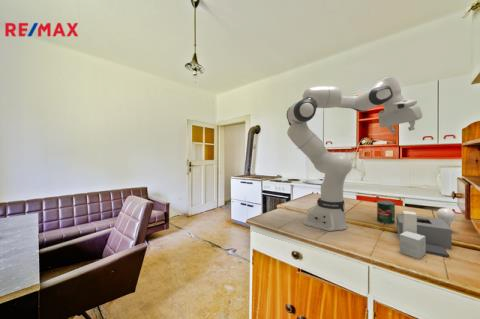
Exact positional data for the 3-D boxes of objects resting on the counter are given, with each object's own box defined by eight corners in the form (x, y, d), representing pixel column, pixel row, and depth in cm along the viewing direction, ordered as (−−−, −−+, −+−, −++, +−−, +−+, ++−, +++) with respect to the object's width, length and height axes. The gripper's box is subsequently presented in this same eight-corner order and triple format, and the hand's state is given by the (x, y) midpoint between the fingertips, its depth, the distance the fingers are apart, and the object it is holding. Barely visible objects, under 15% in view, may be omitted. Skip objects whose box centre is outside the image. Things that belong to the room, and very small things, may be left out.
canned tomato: (378, 223, 105) (378, 203, 104) (376, 218, 112) (375, 200, 111) (396, 225, 101) (396, 204, 100) (393, 220, 108) (392, 201, 107)
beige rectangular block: (403, 246, 80) (403, 213, 79) (402, 242, 83) (402, 210, 82) (416, 248, 77) (416, 214, 77) (415, 244, 81) (415, 212, 80)
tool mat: (423, 252, 75) (423, 250, 75) (419, 245, 80) (419, 242, 80) (449, 257, 70) (449, 255, 70) (443, 249, 76) (443, 246, 76)
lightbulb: (452, 234, 88) (452, 211, 87) (433, 229, 94) (433, 207, 93) (458, 231, 90) (458, 209, 90) (440, 227, 96) (440, 205, 96)
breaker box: (399, 239, 85) (399, 222, 85) (396, 228, 97) (396, 213, 96) (451, 249, 76) (451, 229, 76) (441, 235, 87) (441, 218, 87)
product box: (406, 248, 79) (406, 230, 78) (426, 254, 73) (426, 236, 73) (399, 252, 76) (399, 234, 75) (419, 259, 70) (419, 240, 70)
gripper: (372, 113, 110) (380, 136, 110) (409, 102, 90) (418, 130, 90) (381, 110, 111) (389, 133, 111) (420, 98, 91) (428, 126, 91)
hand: (402, 131), depth 100 cm, fingers open, 8 cm apart
